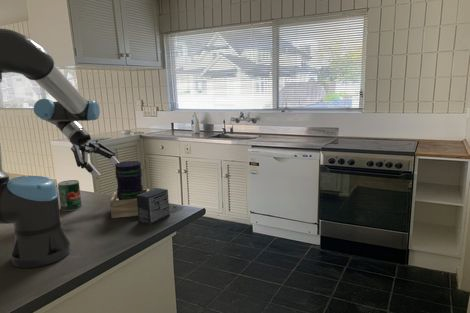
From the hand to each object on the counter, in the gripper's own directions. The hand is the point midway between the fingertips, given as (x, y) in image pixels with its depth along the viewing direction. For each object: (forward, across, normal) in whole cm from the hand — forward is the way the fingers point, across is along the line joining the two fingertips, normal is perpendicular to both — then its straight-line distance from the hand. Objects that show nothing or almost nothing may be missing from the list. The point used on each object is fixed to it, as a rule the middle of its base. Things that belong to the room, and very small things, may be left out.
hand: (110, 173), depth 140 cm
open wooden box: (+17, 0, -4) cm, 17 cm away
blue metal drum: (+14, 0, -1) cm, 14 cm away
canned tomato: (-2, +5, -23) cm, 24 cm away
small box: (+27, +5, +6) cm, 28 cm away
